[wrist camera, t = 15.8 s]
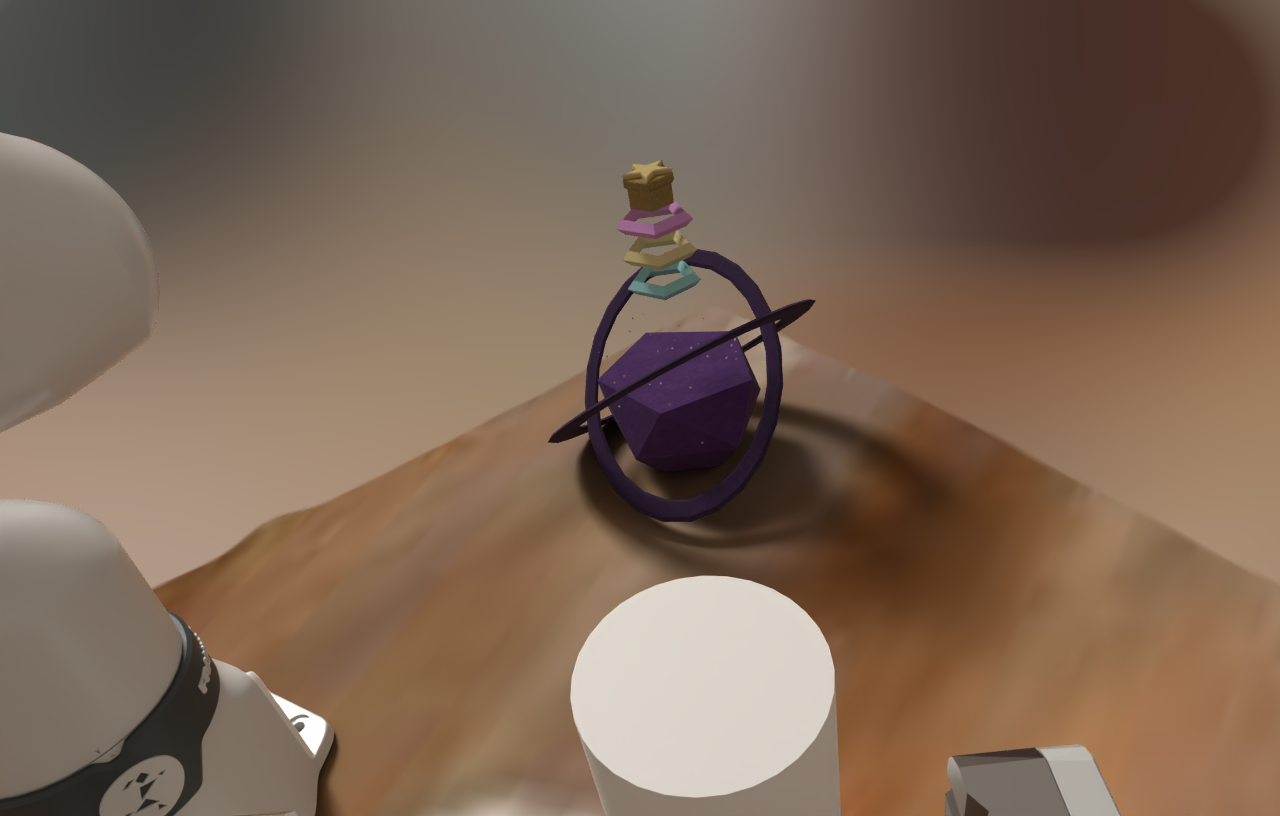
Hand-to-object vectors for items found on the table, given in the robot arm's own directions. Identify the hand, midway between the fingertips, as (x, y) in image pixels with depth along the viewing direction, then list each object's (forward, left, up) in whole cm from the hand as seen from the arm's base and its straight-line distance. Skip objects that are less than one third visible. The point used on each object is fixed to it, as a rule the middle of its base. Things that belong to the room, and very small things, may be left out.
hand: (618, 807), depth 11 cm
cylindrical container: (-6, +7, -34) cm, 35 cm away
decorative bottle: (-35, +40, -35) cm, 63 cm away
